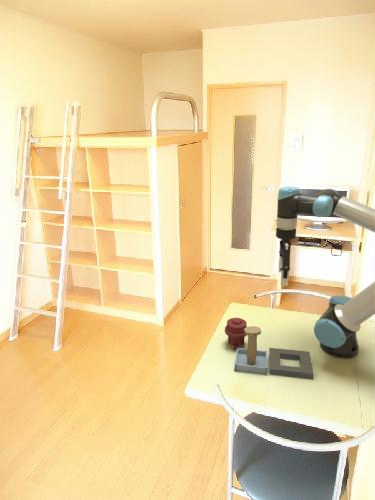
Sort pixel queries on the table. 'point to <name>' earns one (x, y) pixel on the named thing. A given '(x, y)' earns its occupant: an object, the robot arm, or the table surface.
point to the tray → (256, 368)
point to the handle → (252, 343)
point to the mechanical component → (235, 331)
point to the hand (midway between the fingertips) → (283, 278)
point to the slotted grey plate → (290, 371)
